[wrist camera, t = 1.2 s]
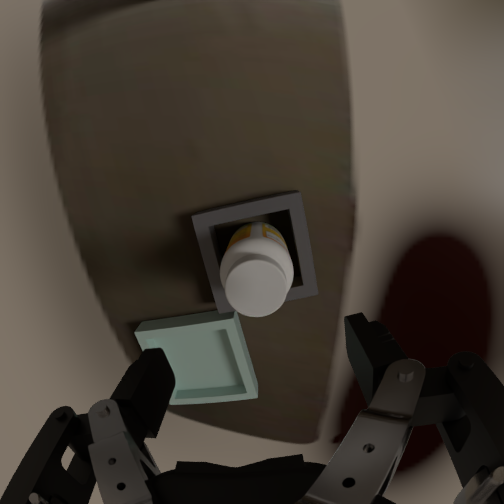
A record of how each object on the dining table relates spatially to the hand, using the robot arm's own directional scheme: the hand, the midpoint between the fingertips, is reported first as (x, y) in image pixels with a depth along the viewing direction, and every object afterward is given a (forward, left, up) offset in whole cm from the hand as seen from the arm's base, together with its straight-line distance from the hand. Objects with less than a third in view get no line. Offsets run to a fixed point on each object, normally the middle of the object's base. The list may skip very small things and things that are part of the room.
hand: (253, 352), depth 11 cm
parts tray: (+11, -9, -16) cm, 22 cm away
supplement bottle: (0, 0, -17) cm, 17 cm away
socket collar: (0, 0, -16) cm, 16 cm away
